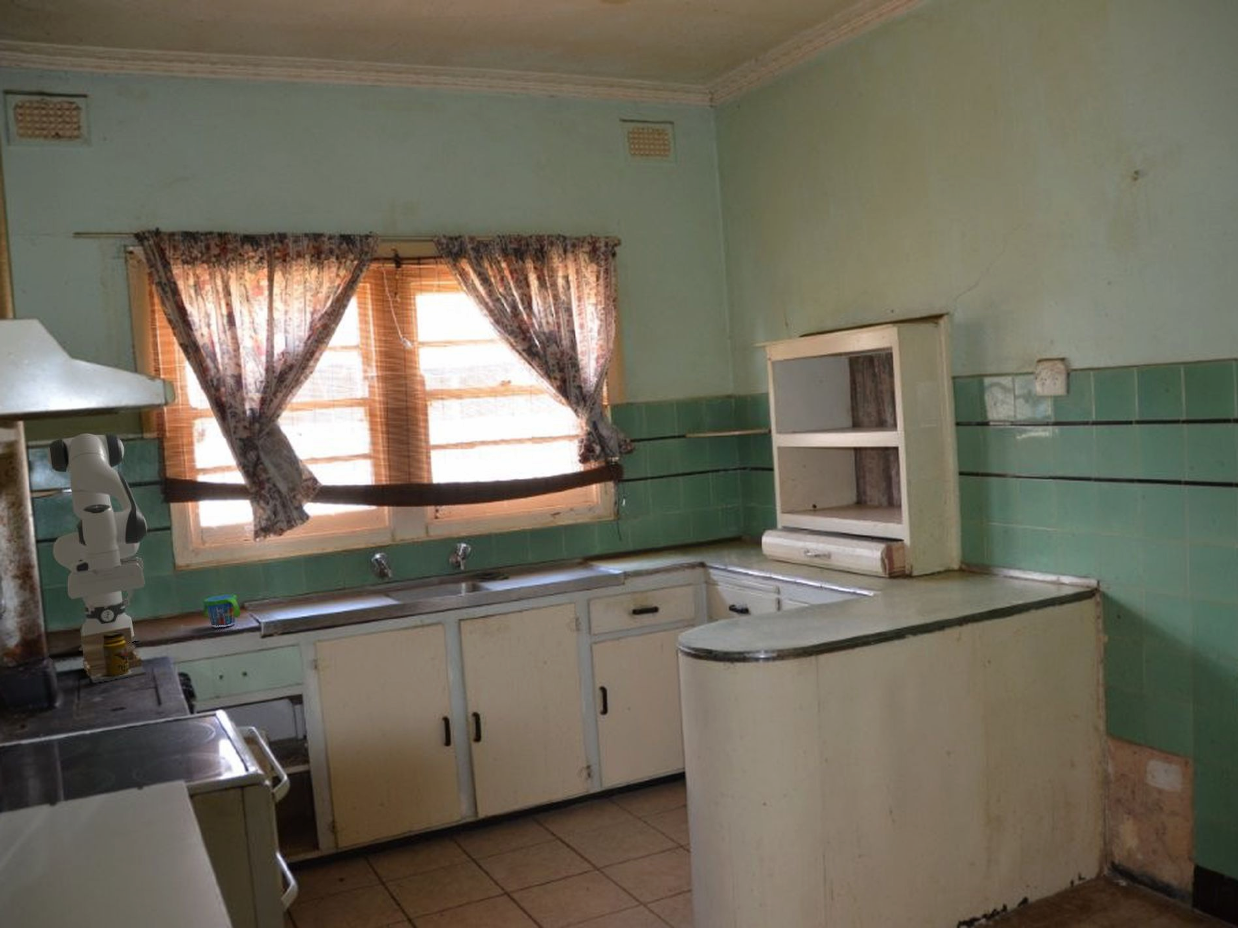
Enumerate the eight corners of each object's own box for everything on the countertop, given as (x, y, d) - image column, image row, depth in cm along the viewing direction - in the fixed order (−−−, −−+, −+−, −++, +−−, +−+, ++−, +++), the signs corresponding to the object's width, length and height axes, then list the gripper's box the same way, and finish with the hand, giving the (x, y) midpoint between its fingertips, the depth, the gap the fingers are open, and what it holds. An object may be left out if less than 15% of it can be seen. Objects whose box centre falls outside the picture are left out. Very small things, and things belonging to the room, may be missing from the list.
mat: (90, 678, 321) (90, 676, 321) (142, 668, 328) (141, 666, 328) (93, 684, 314) (93, 681, 314) (146, 673, 321) (146, 671, 321)
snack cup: (196, 628, 383) (193, 599, 382) (223, 621, 392) (219, 593, 391) (224, 631, 374) (220, 601, 373) (250, 624, 383) (247, 595, 382)
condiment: (132, 673, 320) (127, 632, 319) (100, 679, 315) (95, 638, 314) (128, 669, 326) (123, 629, 325) (97, 675, 321) (91, 635, 321)
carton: (83, 668, 336) (79, 635, 335) (135, 658, 343) (131, 626, 343) (88, 677, 323) (84, 643, 322) (142, 666, 330) (138, 634, 329)
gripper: (140, 554, 326) (146, 600, 328) (64, 565, 316) (70, 613, 317) (143, 556, 321) (149, 603, 322) (65, 568, 311) (72, 616, 312)
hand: (109, 608), depth 320 cm, fingers open, 8 cm apart
